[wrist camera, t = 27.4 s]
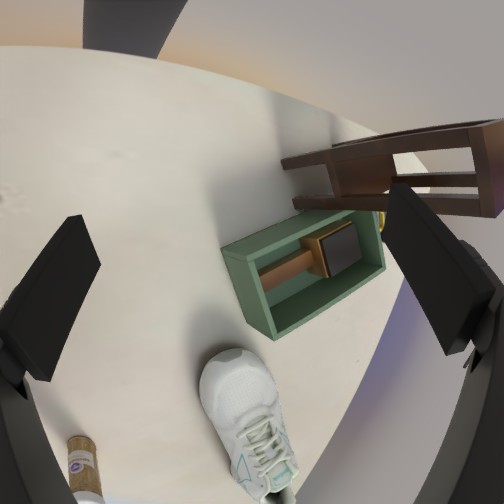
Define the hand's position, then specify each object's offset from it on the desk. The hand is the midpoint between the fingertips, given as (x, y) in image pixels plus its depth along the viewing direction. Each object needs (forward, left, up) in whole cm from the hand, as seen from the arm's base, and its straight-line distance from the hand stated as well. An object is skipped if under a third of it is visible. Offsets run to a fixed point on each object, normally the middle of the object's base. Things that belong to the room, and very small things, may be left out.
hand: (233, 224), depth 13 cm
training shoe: (+36, +1, -28) cm, 45 cm away
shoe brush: (+14, +18, -27) cm, 35 cm away
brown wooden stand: (+3, +27, -27) cm, 39 cm away
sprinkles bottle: (+26, -23, -28) cm, 44 cm away
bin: (+13, +19, -27) cm, 36 cm away
